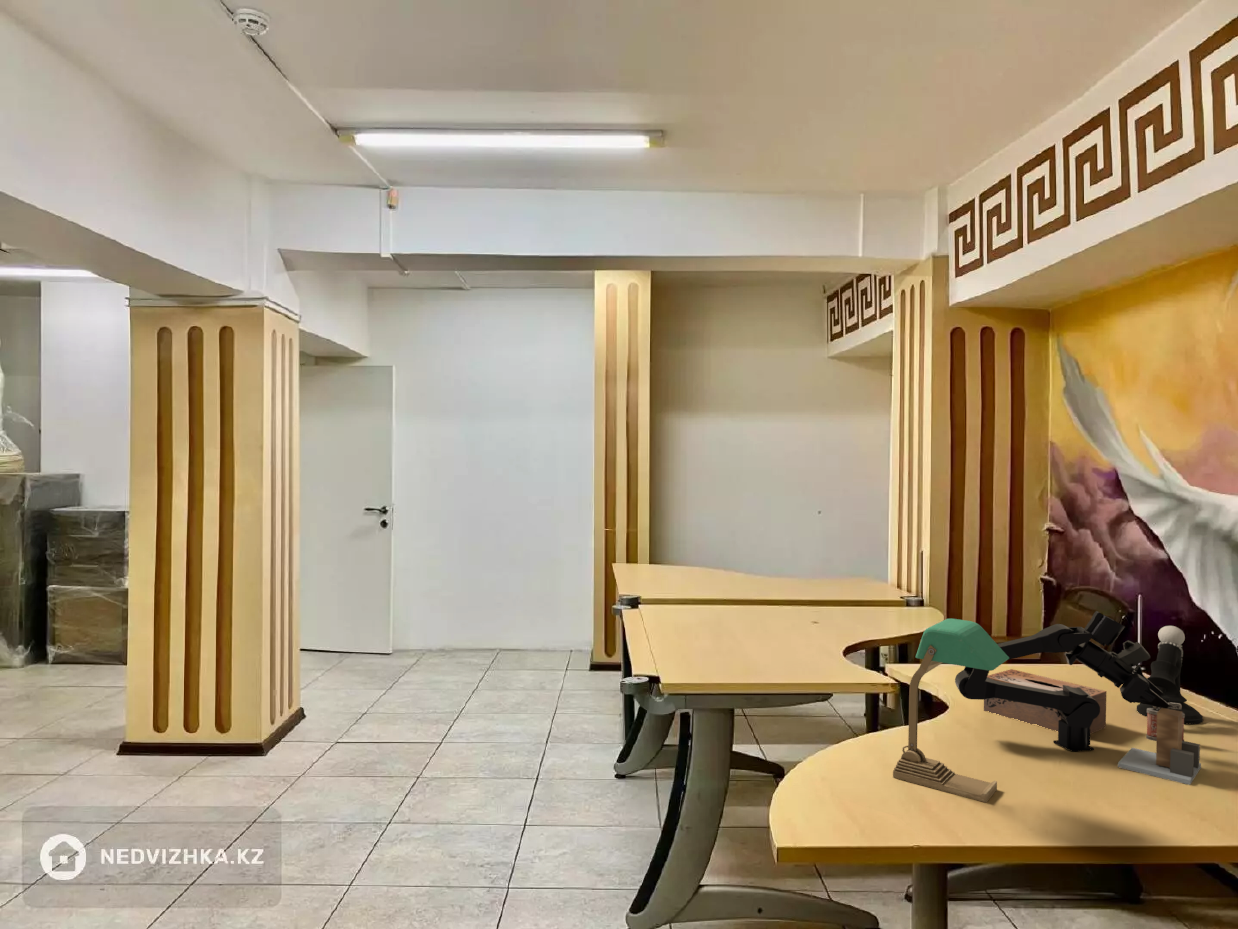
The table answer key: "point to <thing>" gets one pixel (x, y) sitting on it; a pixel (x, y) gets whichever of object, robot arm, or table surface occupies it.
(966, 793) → the banker's lamp
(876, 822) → the table surface
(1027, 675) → the tissue box cover
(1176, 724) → the tall wooden post
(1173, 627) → the sculpture
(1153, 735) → the lighter
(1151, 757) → the grey stand
